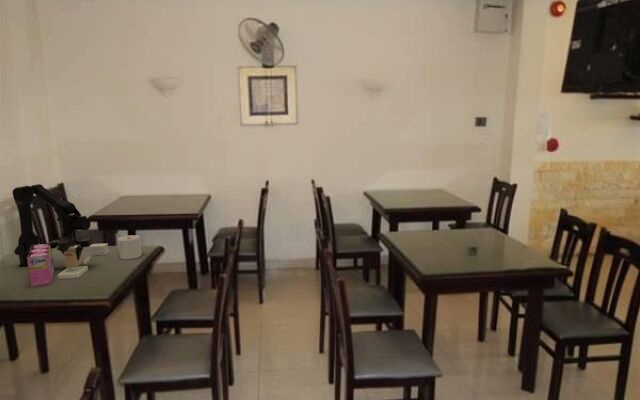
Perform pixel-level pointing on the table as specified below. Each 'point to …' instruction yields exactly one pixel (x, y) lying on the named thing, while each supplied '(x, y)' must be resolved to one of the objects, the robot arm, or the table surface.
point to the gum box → (40, 264)
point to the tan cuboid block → (71, 258)
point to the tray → (72, 272)
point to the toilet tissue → (129, 247)
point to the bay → (93, 251)
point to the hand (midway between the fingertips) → (73, 260)
